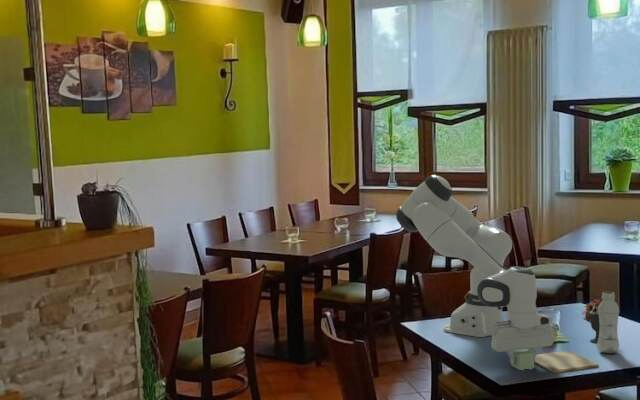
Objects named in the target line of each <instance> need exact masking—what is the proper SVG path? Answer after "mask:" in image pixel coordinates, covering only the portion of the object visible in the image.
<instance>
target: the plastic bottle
mask: <svg viewBox="0 0 640 400" xmlns="http://www.w3.org/2000/svg"><path fill="white" fill-rule="evenodd" d="M601 295H602V296H601V299H603V300H602V302H601V303H600V304H599V306H598V314H599V324H600V330H599V338H598V343H596V344H597V350H599V352H601V353H603V354H616V353H617V352H618V351H619V349H620V348H619V347H620V342H619V335H618V324H619V323H618V322H619V314H620V306H619V304H618V303H617V302H616V301H615V299H616V297H615V295H616V294H615V292H614V291H613V292H612V291H603V292H602V294H601Z"/></svg>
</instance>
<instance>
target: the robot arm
mask: <svg viewBox="0 0 640 400" xmlns="http://www.w3.org/2000/svg"><path fill="white" fill-rule="evenodd" d="M452 195H453V189H452V186H451V185H450V183H449V181H448V180H447V179H445V178H444V177H442V176H440V175H439V174H432V175H429V176H428V177H426V178H425V179H424V181H423V182H422V183H420V184H419V185H418V186H417V187H416V188H415V189H414V190H412V192H411V193H410V195H409V196H408V197H407V198H406V200H405V201H404V202H403V203H402V205H400V206H399V208H397V210H396V212H395V216H396V221H397V222H398V224H399V225H400V226H401V227H402V228H403V229H404V230H406V231H407V232H410V233H417V232H419V234H420V235H421V237H422V238H423V239H424V241H426V242H427V244H428V245H429V246H430V247H431V248H432V249H433V250H434V251H435V252H437V253H438V254H440V255H441V256H444V257H448V258H456V259H457V258H458V259H461V260H464V261H467V262H468V263H470V264H471V266H473V268H472V269H471V270H470V275H469V278H470V280H469V281H470V283H469V284H470V290H468V291H467V292H466V294H465V296H464V300H465V302H464V303H463V304H461V305H460V306H459V307H458V308H456V309H455V310H453V312H452V313H451V315H450V320H449V322H448V323H446V324H445V325H444V327H443V332H446V333H451V334H458V335H462V336H471V337H477V338H484V337H491V340H490V341H491V345H490V346H491V349H492V350H493V352H496V353H504V352H505V353H506V354H507V356H508V358H509V363H510V365H511V364H517V358H515V357H513V355H512V354H514V350H521V349H527V350H529V349H531V352H533V353H534V361H535V356H536V355H538V353H539V348H543V347H549V346H550V347H551V346H552V345H553V343H554V337H555V334H554V329H553V325H552V322H553V320H552V318H551V317H550V316H548V315H546V314H543V313H540V312H538V308H537V304H536V301H537V297H538V296H537V295H538V294H537V280H536V275H535V273H534V272H533V270H531V269H530V268H528V267H524V266H520V265H519V266H516V265H515V266H510V267H509V268H507V267H504V262H505V259H506V258H507V256H508V255H509V254H510V253H511V251H512V248H513V240H512V237H511V236H510V234H508V232H505V231H504V230H502V229H501V228H497V227H494V226H489V225H487V224H485V223H483V222H481V221H480V220H479V219H477V217H475V215H474V214H473V212H472V211H471V210H470V209H469V208H468V207H466V206H465V205H464V204H462V203H461V202H459V201H458V200H457V199H456V198H454V197H452ZM503 307H506V308H507V320H504V315H503Z"/></svg>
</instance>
